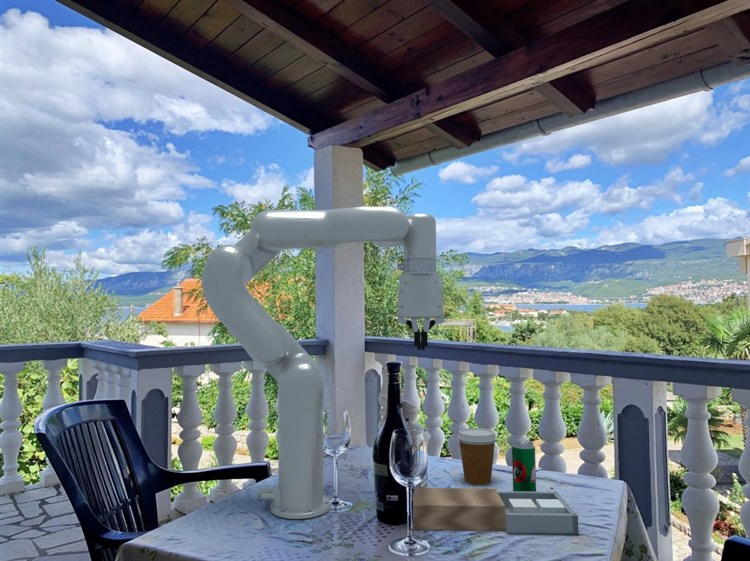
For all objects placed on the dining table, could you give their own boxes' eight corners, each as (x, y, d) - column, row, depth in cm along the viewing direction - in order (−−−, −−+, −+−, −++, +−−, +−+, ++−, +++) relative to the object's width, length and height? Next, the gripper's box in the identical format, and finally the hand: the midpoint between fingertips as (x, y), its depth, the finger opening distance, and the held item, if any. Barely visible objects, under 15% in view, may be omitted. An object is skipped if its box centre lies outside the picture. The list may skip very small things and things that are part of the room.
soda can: (537, 500, 113) (536, 445, 114) (513, 499, 114) (512, 444, 115) (535, 493, 118) (533, 439, 119) (512, 491, 119) (511, 438, 120)
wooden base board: (410, 529, 98) (410, 505, 99) (409, 509, 108) (409, 487, 109) (505, 530, 97) (505, 506, 98) (496, 510, 107) (495, 488, 108)
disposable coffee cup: (451, 477, 129) (450, 429, 130) (485, 474, 132) (484, 426, 133) (469, 489, 120) (468, 437, 121) (505, 485, 123) (504, 434, 124)
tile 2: (565, 507, 100) (565, 523, 100) (558, 499, 104) (558, 514, 104) (541, 507, 100) (542, 523, 100) (535, 499, 104) (536, 514, 104)
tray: (507, 534, 96) (507, 514, 96) (494, 508, 109) (494, 491, 109) (578, 535, 95) (578, 515, 95) (557, 508, 108) (556, 491, 108)
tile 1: (513, 522, 100) (513, 506, 100) (509, 513, 105) (508, 498, 105) (537, 523, 100) (536, 507, 100) (531, 514, 104) (531, 499, 105)
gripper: (386, 267, 114) (387, 350, 113) (454, 266, 113) (455, 350, 112) (387, 270, 122) (388, 348, 120) (451, 269, 121) (452, 348, 120)
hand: (420, 349), depth 116 cm, fingers closed
